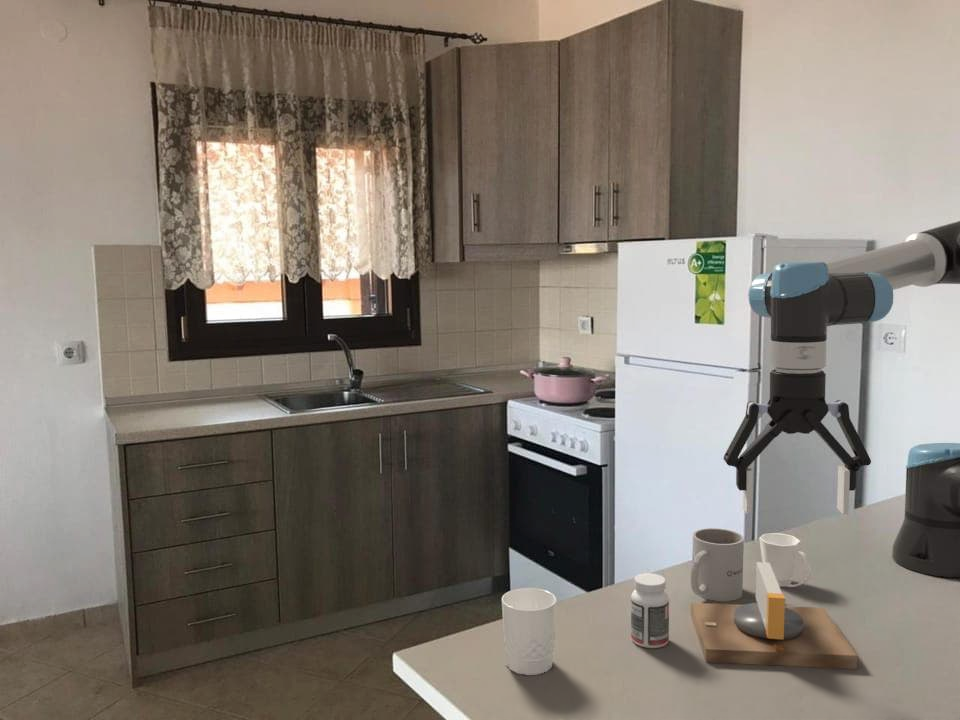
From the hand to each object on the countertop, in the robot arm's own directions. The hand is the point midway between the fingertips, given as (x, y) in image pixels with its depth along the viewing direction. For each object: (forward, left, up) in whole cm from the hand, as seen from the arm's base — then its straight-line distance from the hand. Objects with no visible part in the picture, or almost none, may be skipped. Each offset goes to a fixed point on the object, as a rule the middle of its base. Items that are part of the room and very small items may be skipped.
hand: (794, 511), depth 119 cm
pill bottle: (+21, 0, -21) cm, 30 cm away
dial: (+3, -2, -19) cm, 19 cm away
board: (+3, -2, -21) cm, 21 cm away
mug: (+9, -19, -21) cm, 30 cm away
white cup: (+39, +9, -21) cm, 45 cm away
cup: (-5, -24, -21) cm, 32 cm away
